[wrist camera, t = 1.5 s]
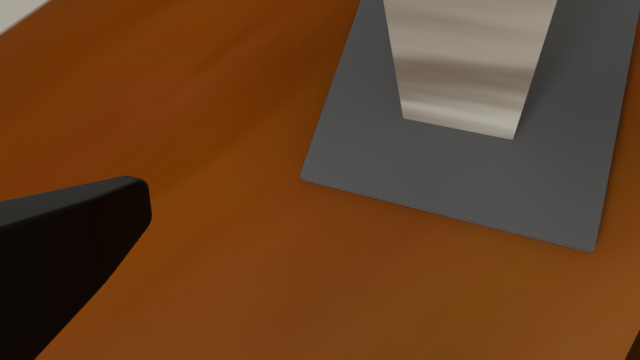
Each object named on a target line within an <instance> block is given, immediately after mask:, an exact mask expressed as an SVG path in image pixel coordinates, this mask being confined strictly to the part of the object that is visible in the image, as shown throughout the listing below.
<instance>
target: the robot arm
mask: <svg viewBox="0 0 640 360" xmlns="http://www.w3.org/2000/svg"><path fill="white" fill-rule="evenodd" d="M151 218H152V211H151V203H150V195H149V188H148V185H147V183H146V182H145V181H144V180H142V179H139V178H135V177H132V176H122V177H117V178H112V179H107V180H103V181H98V182H93V183H88V184H83V185H78V186H74V187H69V188H64V189H59V190H54V191H50V192H45V193H40V194H35V195H30V196H25V197H21V198H16V199H11V200H6V201H1V202H0V360H34V359H35V358H36V357H37V356H38V355H39V354H40V353H41V352H42V351H43V350H44V349H45V348H46V346H47V345H48V344H49V343H50V342H51V341H52V340H53V339H54V338H55V337H56V336H57V335H58V334H59V332H60V331H61V330H62V329H63V328H64V327H65V326H66V325H67V324H68V323H69V322H70V321H71V319H72V318H73V317H74V316H75V315H76V314H77V313H78V312H79V311H80V310H81V309H82V308H83V307H84V305H85V304H86V303H87V302H88V301H89V300H90V299H91V298H92V297H93V296H94V295H95V294H96V292H97V291H98V290H99V289H100V288H101V287H102V286H103V285H104V284H105V282H106V281H107V280H108V279H109V277H110V276H111V275H112V274H113V272H114V271H115V270H116V268H117V267H118V266H119V264H120V263H121V262H122V261H123V259H124V258H125V257H126V255H127V254H128V253H129V251H130V250H131V249H132V247H133V246H134V245H135V243H136V242H137V241H138V239H139V238H140V237H141V236H142V234H143V233H144V232H145V230H146V229H147V228H148V226H149V224H150V222H151ZM625 360H640V330H639V332H638V334H637V336H636V338H635V340H634V342H633V344H632V346H631V348H630V350H629V352H628V354H627V356H626V358H625Z"/></svg>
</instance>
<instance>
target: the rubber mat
mask: <svg viewBox="0 0 640 360" xmlns="http://www.w3.org/2000/svg"><path fill="white" fill-rule="evenodd" d="M639 12H640V0H557V3H556V6H555V9H554V12H553V15H552V18H551V21H550V25H549V28H548V31H547V34H546V37H545V40H544V43H543V47H542V50H541V53H540V56H539V59H538V62H537V66H536V69H535V72H534V75H533V78H532V81H531V84H530V88H529V91H528V94H527V97H526V100H525V103H524V107H523V110H522V113H521V116H520V119H519V122H518V125H517V129H516V132H515V135H514V138H513V140H510V139H505V138H500V137H495V136H490V135H485V134H480V133H475V132H470V131H465V130H460V129H455V128H450V127H445V126H440V125H435V124H430V123H425V122H420V121H415V120H410V119H405V118H403V114H402V108H401V102H400V96H399V90H398V84H397V78H396V73H395V67H394V61H393V55H392V49H391V43H390V37H389V32H388V26H387V20H386V14H385V8H384V2H383V0H361V1H360V4H359V7H358V10H357V13H356V16H355V18H354V21H353V24H352V27H351V30H350V33H349V36H348V39H347V41H346V44H345V47H344V50H343V53H342V56H341V59H340V61H339V64H338V67H337V70H336V73H335V76H334V79H333V82H332V84H331V87H330V90H329V93H328V96H327V99H326V102H325V105H324V107H323V110H322V113H321V116H320V119H319V122H318V125H317V127H316V130H315V133H314V136H313V139H312V142H311V145H310V148H309V150H308V153H307V156H306V159H305V162H304V165H303V168H302V170H301V173H300V178H301V179H302V180H303V181H307V182H311V183H315V184H319V185H323V186H327V187H331V188H335V189H339V190H343V191H347V192H351V193H355V194H359V195H363V196H367V197H371V198H375V199H379V200H383V201H387V202H391V203H394V204H398V205H402V206H406V207H410V208H414V209H418V210H422V211H426V212H430V213H434V214H438V215H442V216H446V217H450V218H454V219H458V220H462V221H466V222H470V223H474V224H478V225H482V226H486V227H489V228H493V229H497V230H501V231H505V232H509V233H513V234H517V235H521V236H525V237H529V238H533V239H537V240H541V241H545V242H549V243H553V244H557V245H561V246H565V247H569V248H573V249H577V250H581V251H584V252H588V253H592V252H593V251H595V247H596V241H597V236H598V231H599V225H600V220H601V215H602V209H603V204H604V199H605V193H606V188H607V182H608V177H609V172H610V166H611V161H612V156H613V150H614V145H615V140H616V134H617V129H618V124H619V118H620V113H621V108H622V102H623V97H624V92H625V86H626V81H627V76H628V70H629V65H630V60H631V54H632V49H633V44H634V38H635V33H636V28H637V22H638V17H639Z"/></svg>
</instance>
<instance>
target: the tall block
mask: <svg viewBox="0 0 640 360" xmlns="http://www.w3.org/2000/svg"><path fill="white" fill-rule="evenodd" d="M383 2H384V8H385V14H386V20H387V26H388V32H389V37H390V43H391V49H392V55H393V61H394V67H395V73H396V78H397V84H398V90H399V96H400V102H401V108H402V114H403V118H405V119H410V120H415V121H420V122H425V123H430V124H435V125H440V126H445V127H450V128H455V129H460V130H465V131H470V132H475V133H480V134H485V135H490V136H495V137H500V138H505V139H510V140H513V138H514V135H515V132H516V129H517V125H518V122H519V119H520V116H521V113H522V110H523V107H524V103H525V100H526V97H527V94H528V91H529V88H530V84H531V81H532V78H533V75H534V72H535V69H536V66H537V62H538V59H539V56H540V53H541V50H542V47H543V43H544V40H545V37H546V34H547V31H548V28H549V25H550V21H551V18H552V15H553V12H554V9H555V6H556V3H557V0H383Z"/></svg>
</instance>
